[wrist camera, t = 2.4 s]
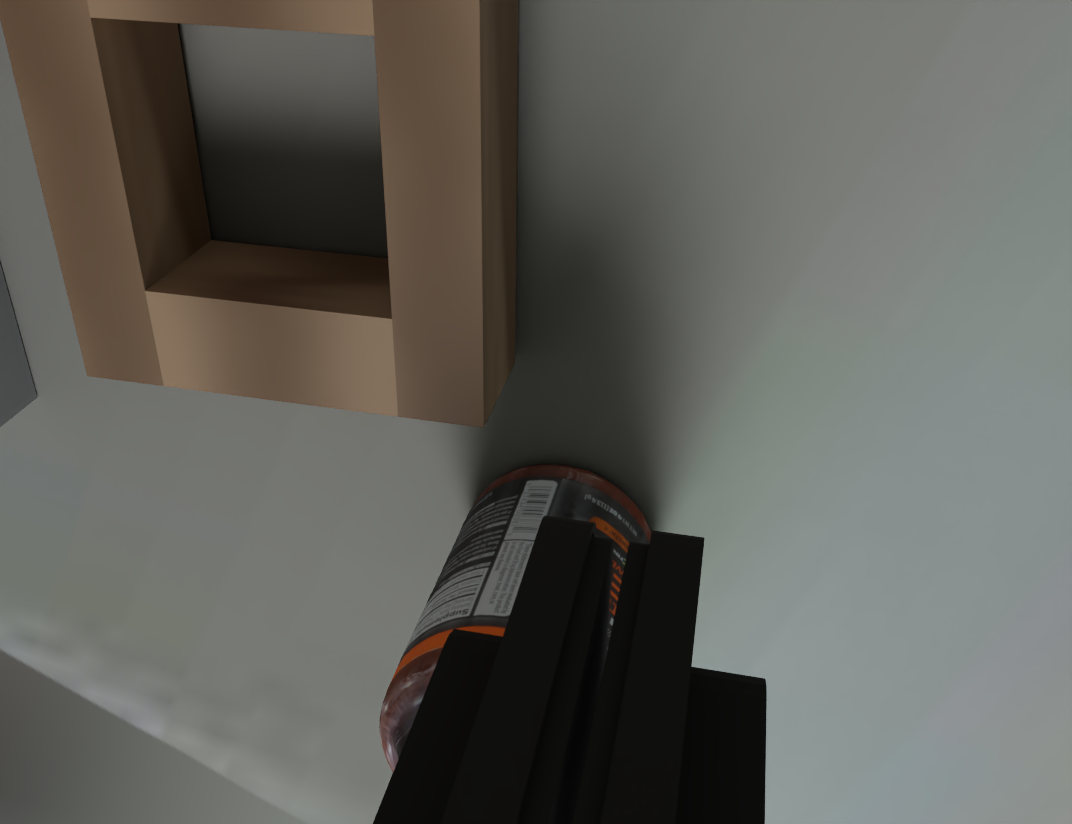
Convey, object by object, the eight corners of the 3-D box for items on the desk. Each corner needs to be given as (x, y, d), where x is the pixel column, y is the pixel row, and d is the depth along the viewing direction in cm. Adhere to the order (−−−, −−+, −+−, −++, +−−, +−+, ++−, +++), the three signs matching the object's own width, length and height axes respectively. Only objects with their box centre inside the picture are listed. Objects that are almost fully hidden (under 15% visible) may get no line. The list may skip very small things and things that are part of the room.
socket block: (519, -122, 22) (478, -109, 19) (515, 362, 28) (483, 427, 25) (65, -138, 24) (-36, -129, 21) (155, 320, 30) (87, 375, 27)
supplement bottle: (695, 573, 31) (654, 912, 22) (537, 630, 34) (438, 956, 24) (591, 424, 29) (496, 725, 20) (433, 497, 32) (281, 794, 22)
